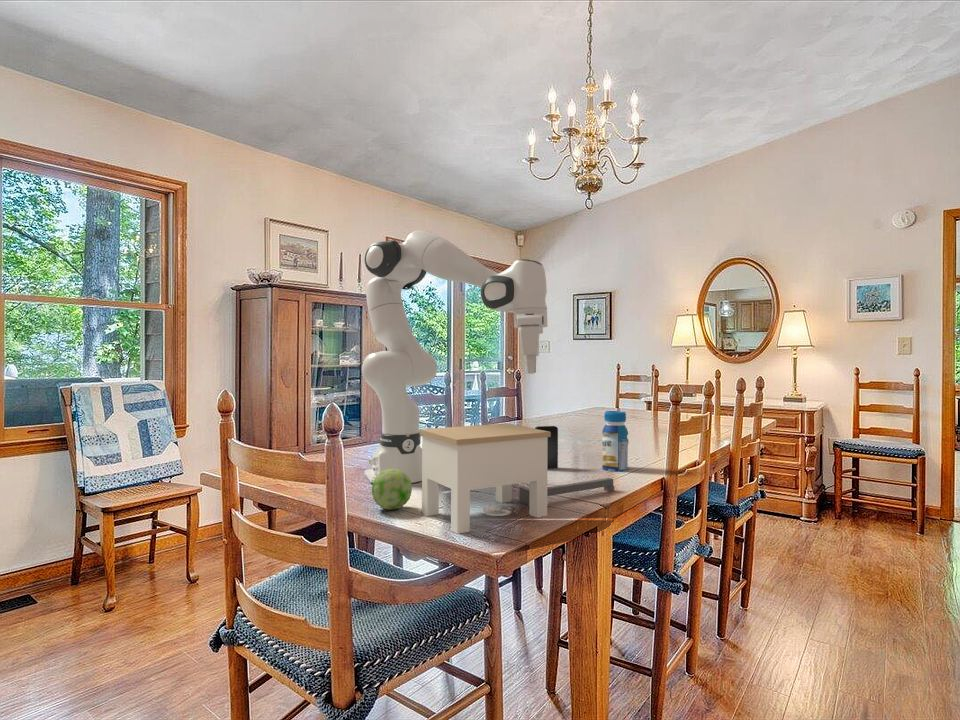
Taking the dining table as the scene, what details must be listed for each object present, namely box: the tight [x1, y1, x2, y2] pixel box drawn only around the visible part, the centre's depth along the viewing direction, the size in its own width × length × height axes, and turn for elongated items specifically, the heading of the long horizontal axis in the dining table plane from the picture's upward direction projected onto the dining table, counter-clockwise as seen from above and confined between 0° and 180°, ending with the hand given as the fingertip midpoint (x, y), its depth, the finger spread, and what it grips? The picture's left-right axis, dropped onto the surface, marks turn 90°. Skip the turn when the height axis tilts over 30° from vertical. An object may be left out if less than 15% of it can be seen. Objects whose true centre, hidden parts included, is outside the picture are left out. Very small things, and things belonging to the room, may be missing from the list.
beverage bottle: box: [601, 410, 629, 473], centre depth 180 cm, size 8×8×20 cm
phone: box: [534, 425, 559, 470], centre depth 182 cm, size 8×1×15 cm, turn 103°
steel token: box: [482, 505, 513, 517], centre depth 134 cm, size 7×7×1 cm
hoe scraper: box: [518, 477, 615, 506], centre depth 146 cm, size 28×9×4 cm, turn 121°
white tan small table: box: [419, 422, 551, 535], centre depth 132 cm, size 19×25×20 cm
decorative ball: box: [371, 469, 413, 511], centre depth 137 cm, size 10×10×10 cm
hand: (531, 373), depth 146 cm, fingers open, 8 cm apart
